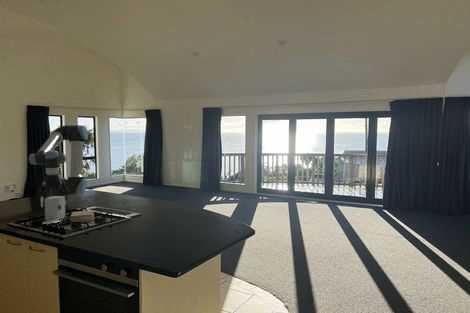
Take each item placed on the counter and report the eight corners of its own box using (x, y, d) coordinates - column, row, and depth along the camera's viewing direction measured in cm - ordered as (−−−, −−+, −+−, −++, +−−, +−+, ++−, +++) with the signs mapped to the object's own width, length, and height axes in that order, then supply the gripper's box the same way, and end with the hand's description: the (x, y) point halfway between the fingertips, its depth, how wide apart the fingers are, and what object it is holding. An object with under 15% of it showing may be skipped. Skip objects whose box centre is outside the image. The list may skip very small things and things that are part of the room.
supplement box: (57, 221, 223) (56, 198, 222) (44, 220, 224) (43, 198, 223) (65, 217, 232) (65, 196, 231) (53, 217, 233) (52, 195, 232)
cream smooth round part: (44, 222, 219) (44, 220, 219) (61, 221, 222) (61, 219, 222) (41, 226, 210) (40, 224, 210) (58, 224, 213) (58, 222, 213)
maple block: (73, 219, 228) (72, 211, 228) (93, 217, 233) (93, 210, 233) (70, 223, 216) (70, 216, 216) (92, 222, 221) (92, 214, 220)
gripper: (29, 175, 216) (30, 208, 217) (72, 173, 224) (73, 205, 225) (32, 174, 223) (33, 206, 224) (73, 172, 231) (75, 203, 232)
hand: (53, 206), depth 224 cm, fingers open, 13 cm apart
